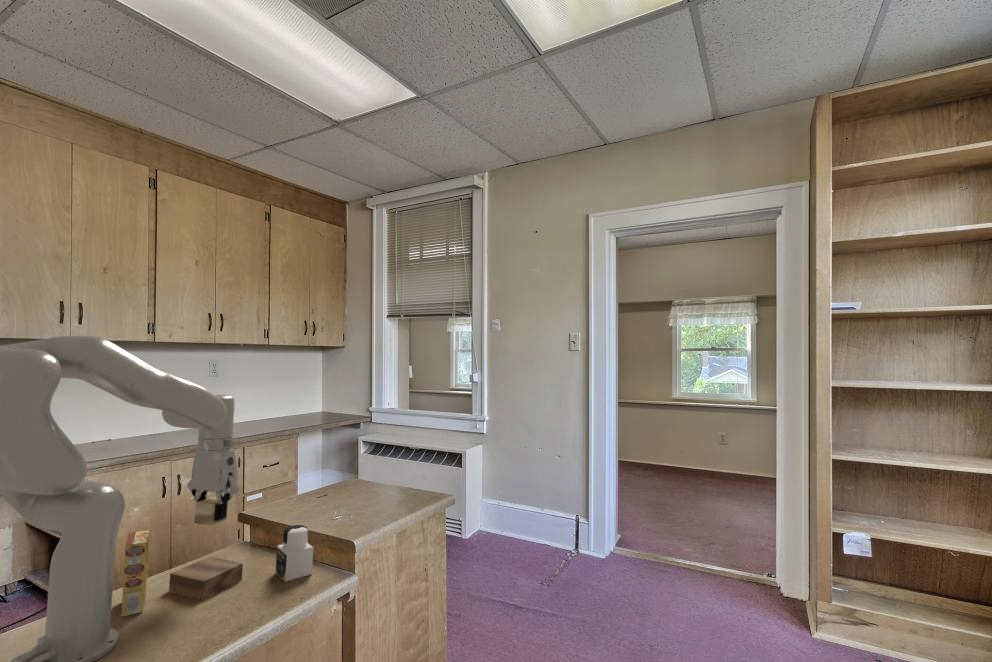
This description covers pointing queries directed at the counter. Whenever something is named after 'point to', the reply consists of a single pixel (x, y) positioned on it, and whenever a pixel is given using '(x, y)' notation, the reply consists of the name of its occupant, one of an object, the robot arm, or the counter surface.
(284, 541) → the medicine bottle
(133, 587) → the candy box
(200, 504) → the maple cube
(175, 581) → the walnut block
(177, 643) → the counter surface
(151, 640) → the counter surface
